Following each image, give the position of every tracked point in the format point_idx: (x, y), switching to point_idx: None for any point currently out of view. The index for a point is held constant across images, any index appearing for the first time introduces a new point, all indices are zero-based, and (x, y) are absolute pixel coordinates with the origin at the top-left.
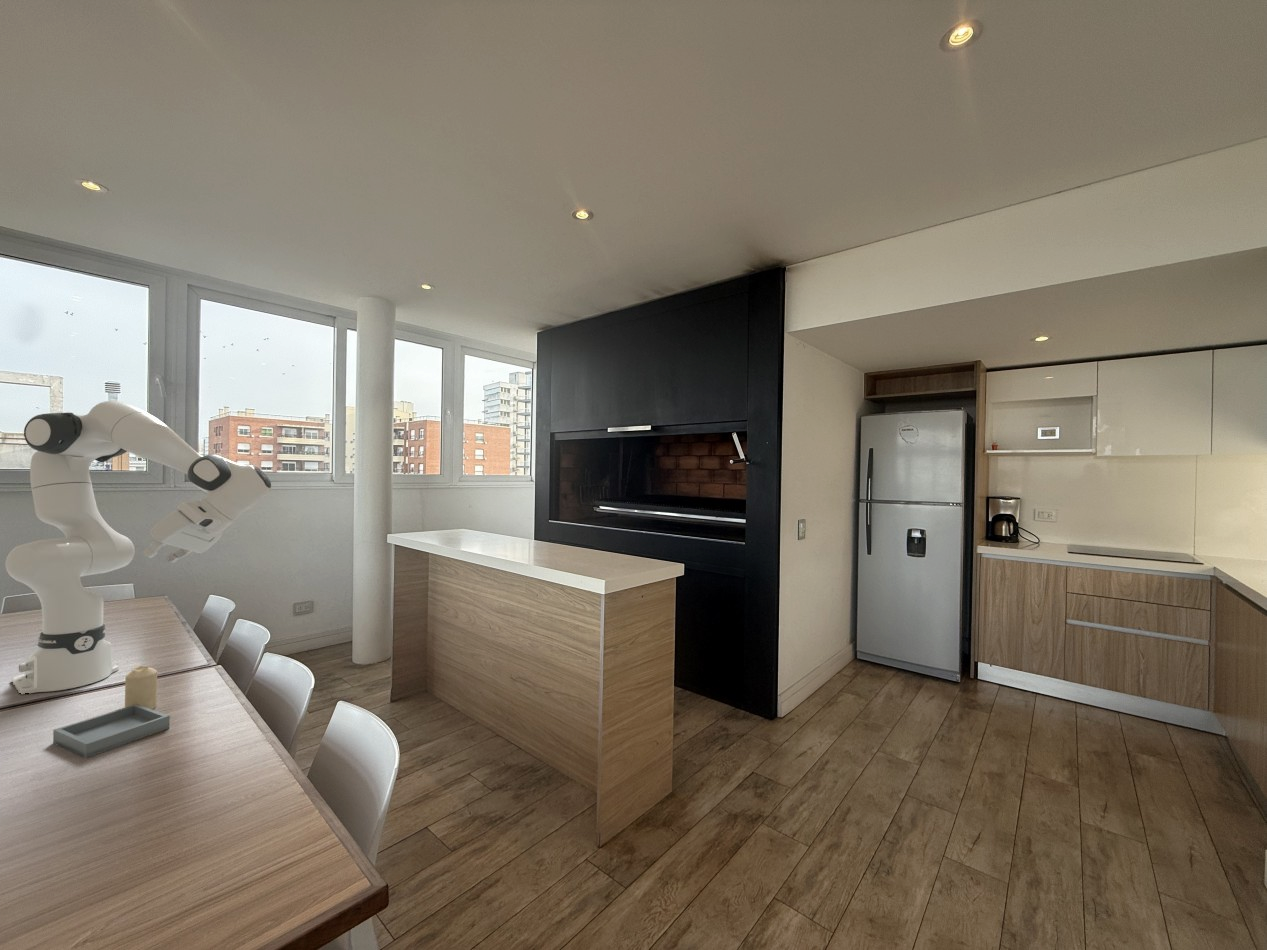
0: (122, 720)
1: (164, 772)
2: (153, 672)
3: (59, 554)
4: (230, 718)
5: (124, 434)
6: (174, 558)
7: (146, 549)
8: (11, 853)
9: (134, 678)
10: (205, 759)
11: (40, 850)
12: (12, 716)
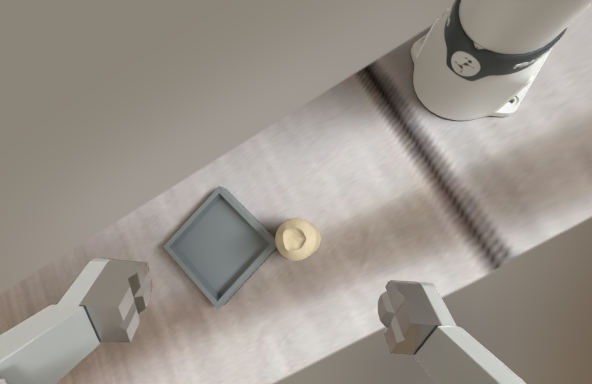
0: (256, 238)
1: (110, 344)
2: (291, 258)
3: None
4: (230, 377)
5: None
6: (386, 337)
7: (72, 284)
8: (28, 276)
9: (275, 238)
10: (122, 380)
11: (23, 296)
12: (327, 92)
